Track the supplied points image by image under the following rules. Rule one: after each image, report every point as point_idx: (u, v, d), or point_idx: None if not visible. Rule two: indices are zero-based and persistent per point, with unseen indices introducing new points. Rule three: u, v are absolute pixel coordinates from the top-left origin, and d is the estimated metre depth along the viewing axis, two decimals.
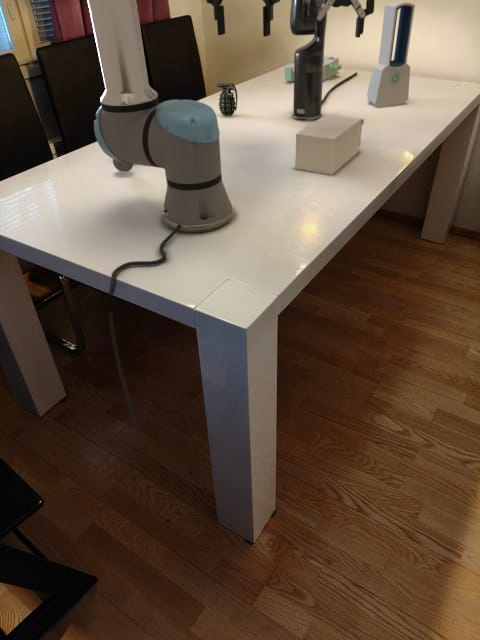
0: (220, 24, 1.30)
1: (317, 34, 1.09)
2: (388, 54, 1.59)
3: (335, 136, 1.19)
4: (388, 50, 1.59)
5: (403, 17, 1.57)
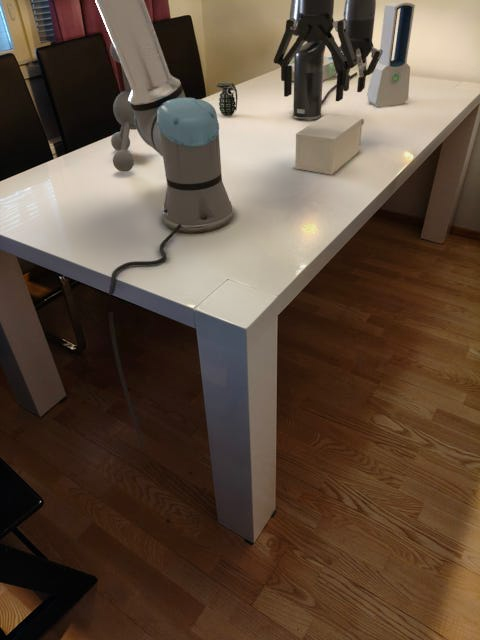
0: (287, 85, 1.20)
1: None
2: (388, 54, 1.59)
3: (335, 136, 1.19)
4: (388, 50, 1.59)
5: (403, 17, 1.57)
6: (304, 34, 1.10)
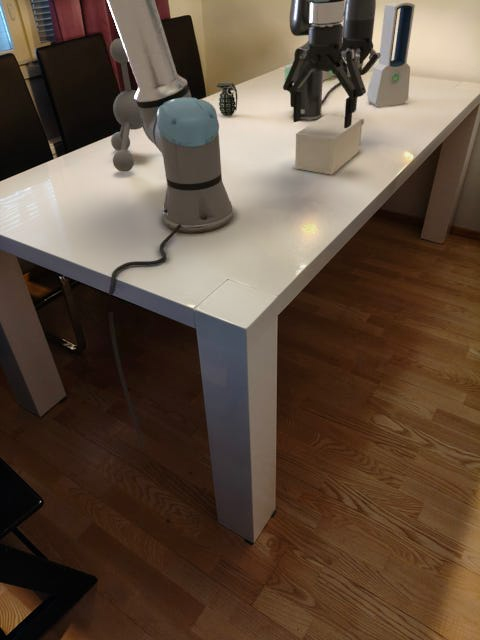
0: (296, 111, 1.21)
1: None
2: (388, 54, 1.59)
3: (335, 136, 1.19)
4: (388, 50, 1.59)
5: (403, 17, 1.57)
6: (313, 63, 1.12)
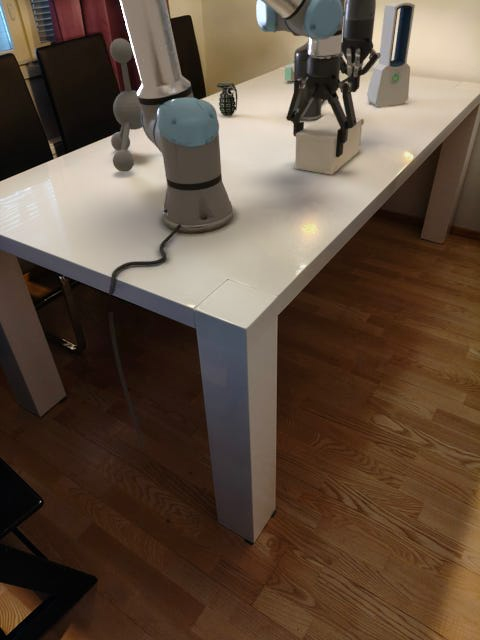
0: None
1: None
2: (388, 54, 1.59)
3: (335, 136, 1.19)
4: (388, 50, 1.59)
5: (403, 17, 1.57)
6: (311, 92, 1.16)
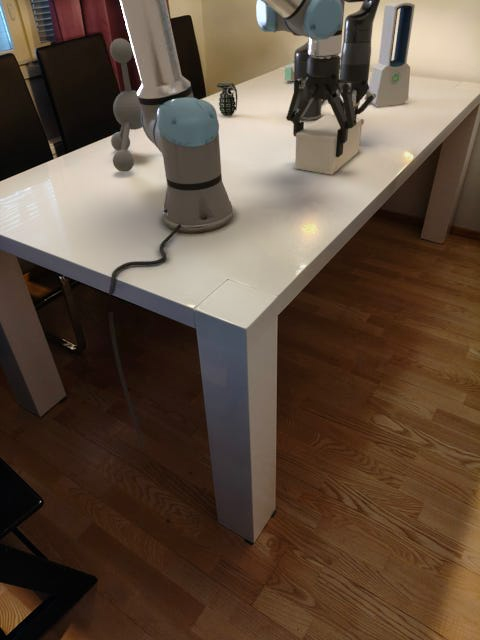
0: None
1: None
2: (388, 54, 1.59)
3: (335, 136, 1.19)
4: (388, 50, 1.59)
5: (403, 17, 1.57)
6: (311, 92, 1.16)
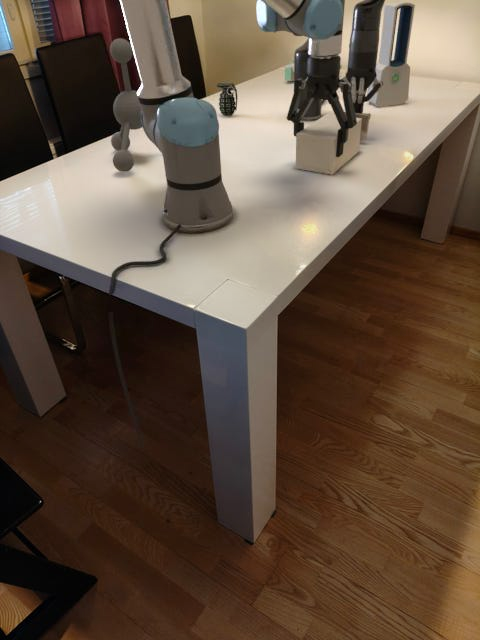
0: None
1: None
2: (388, 54, 1.59)
3: (335, 136, 1.19)
4: (388, 50, 1.59)
5: (403, 17, 1.57)
6: (311, 92, 1.16)
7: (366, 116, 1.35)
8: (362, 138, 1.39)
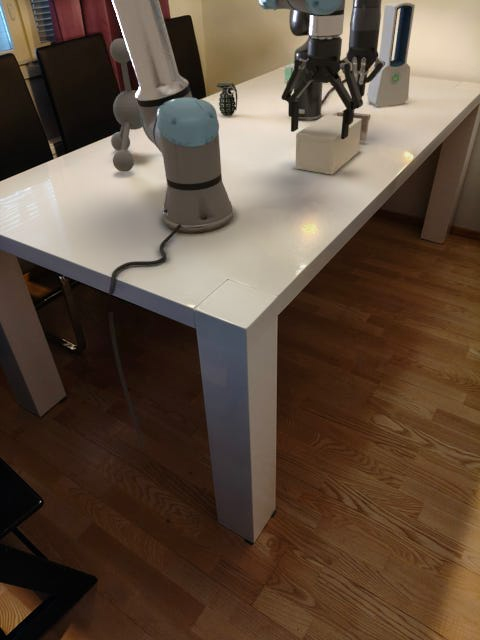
0: (294, 121, 1.22)
1: None
2: (388, 54, 1.59)
3: (335, 136, 1.19)
4: (388, 50, 1.59)
5: (403, 17, 1.57)
6: (312, 74, 1.13)
7: (366, 117, 1.35)
8: (362, 139, 1.39)
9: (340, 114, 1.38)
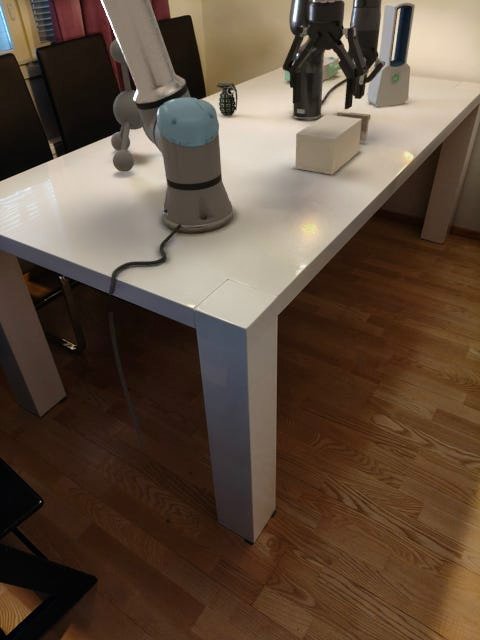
0: (296, 92, 1.18)
1: (353, 94, 1.36)
2: (388, 54, 1.59)
3: (335, 136, 1.19)
4: (388, 50, 1.59)
5: (403, 17, 1.57)
6: (313, 41, 1.09)
7: (366, 117, 1.35)
8: (362, 139, 1.39)
9: (340, 114, 1.38)
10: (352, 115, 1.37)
